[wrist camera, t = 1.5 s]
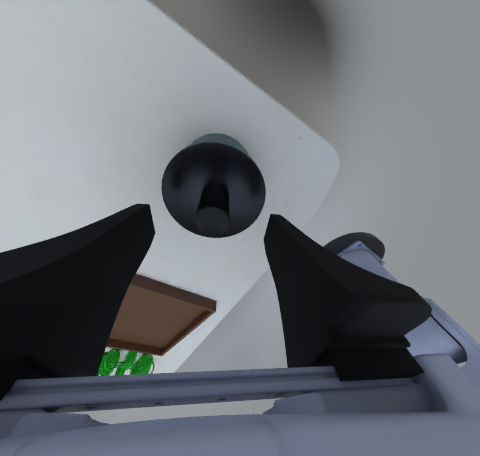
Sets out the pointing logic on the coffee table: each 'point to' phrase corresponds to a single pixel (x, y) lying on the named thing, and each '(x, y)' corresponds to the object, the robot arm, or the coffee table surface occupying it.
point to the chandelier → (113, 360)
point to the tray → (157, 317)
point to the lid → (213, 189)
